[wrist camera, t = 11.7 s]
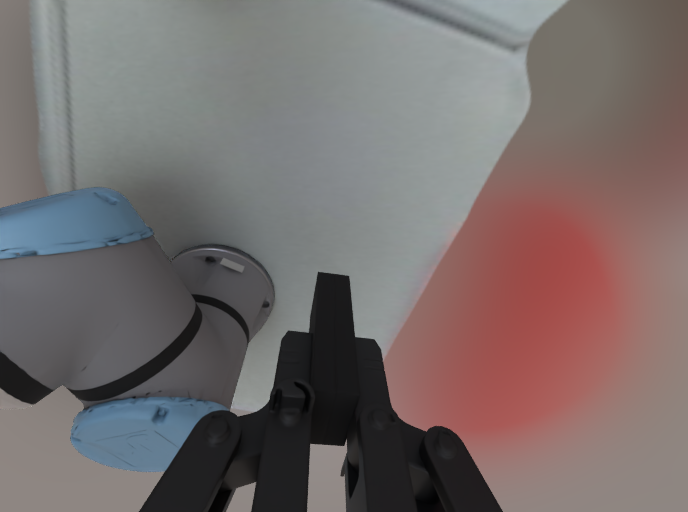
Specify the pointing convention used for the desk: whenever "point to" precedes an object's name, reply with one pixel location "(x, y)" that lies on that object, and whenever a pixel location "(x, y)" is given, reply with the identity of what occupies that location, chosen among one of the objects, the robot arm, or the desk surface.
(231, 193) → the desk surface
